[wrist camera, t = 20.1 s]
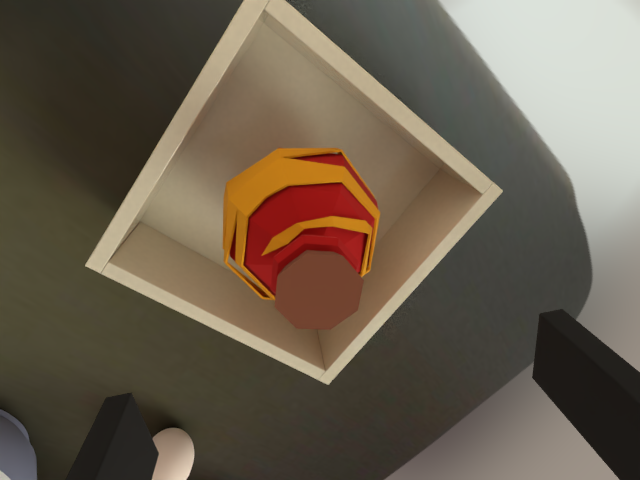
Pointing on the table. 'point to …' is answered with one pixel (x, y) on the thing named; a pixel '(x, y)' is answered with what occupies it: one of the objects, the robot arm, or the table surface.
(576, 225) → the table surface
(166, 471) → the egg
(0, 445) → the bowl
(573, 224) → the table surface
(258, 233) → the potion bottle
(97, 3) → the table surface
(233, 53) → the cream open box
